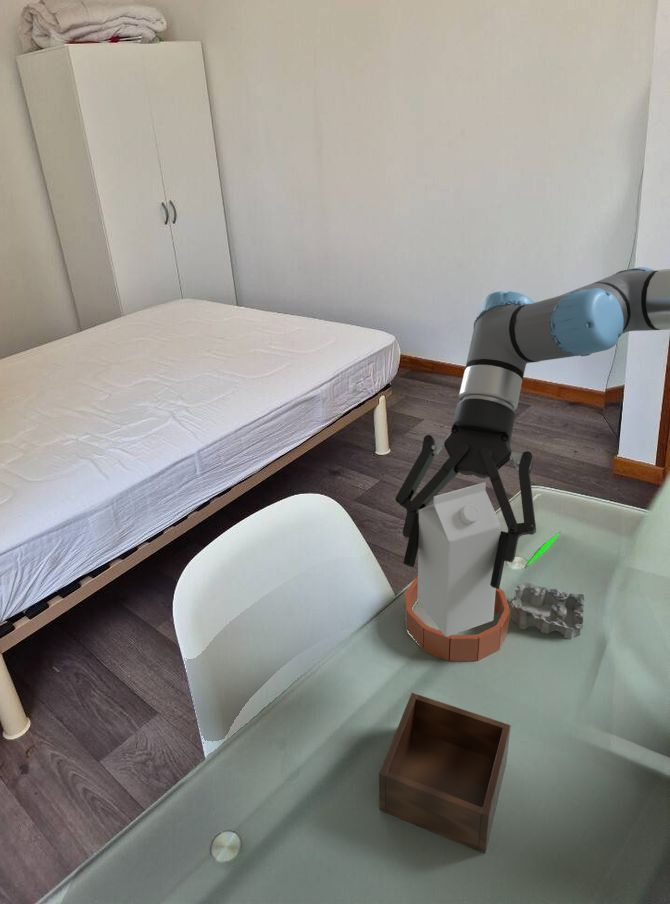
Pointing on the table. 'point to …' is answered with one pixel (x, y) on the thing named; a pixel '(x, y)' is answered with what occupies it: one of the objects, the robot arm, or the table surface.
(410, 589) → the orange faceted ring
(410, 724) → the box
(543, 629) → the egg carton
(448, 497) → the milk carton
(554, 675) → the table surface
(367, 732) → the table surface
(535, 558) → the leaf
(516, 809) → the table surface
